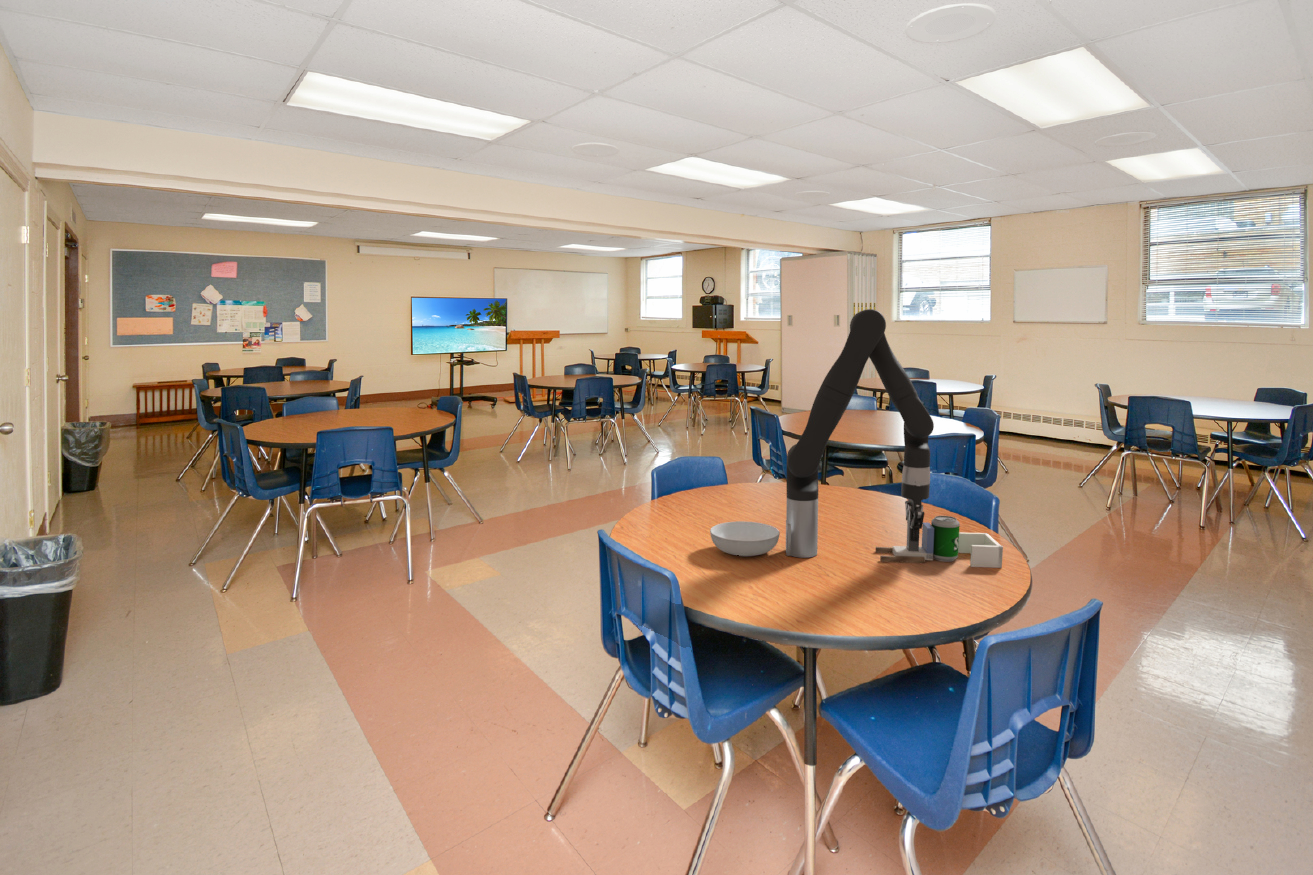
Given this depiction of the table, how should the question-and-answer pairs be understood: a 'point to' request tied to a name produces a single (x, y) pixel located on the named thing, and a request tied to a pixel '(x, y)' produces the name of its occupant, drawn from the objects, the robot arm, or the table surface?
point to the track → (896, 558)
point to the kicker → (917, 543)
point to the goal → (981, 549)
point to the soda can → (945, 538)
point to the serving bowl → (744, 537)
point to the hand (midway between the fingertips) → (912, 538)
